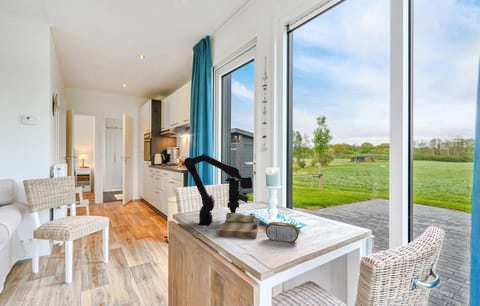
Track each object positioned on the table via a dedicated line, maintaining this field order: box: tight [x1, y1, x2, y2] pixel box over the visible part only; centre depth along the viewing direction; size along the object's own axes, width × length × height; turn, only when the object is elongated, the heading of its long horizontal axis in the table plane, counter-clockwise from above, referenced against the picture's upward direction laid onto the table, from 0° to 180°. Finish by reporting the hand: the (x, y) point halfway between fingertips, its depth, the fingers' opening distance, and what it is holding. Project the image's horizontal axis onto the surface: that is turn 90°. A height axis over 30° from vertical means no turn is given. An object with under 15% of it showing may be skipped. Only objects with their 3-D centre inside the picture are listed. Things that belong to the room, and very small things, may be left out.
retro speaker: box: [265, 221, 300, 244], centre depth 108 cm, size 15×3×8 cm, turn 74°
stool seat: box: [218, 217, 260, 240], centre depth 123 cm, size 18×22×5 cm
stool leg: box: [225, 212, 256, 222], centre depth 128 cm, size 16×4×4 cm, turn 81°
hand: (233, 216), depth 133 cm, fingers closed
